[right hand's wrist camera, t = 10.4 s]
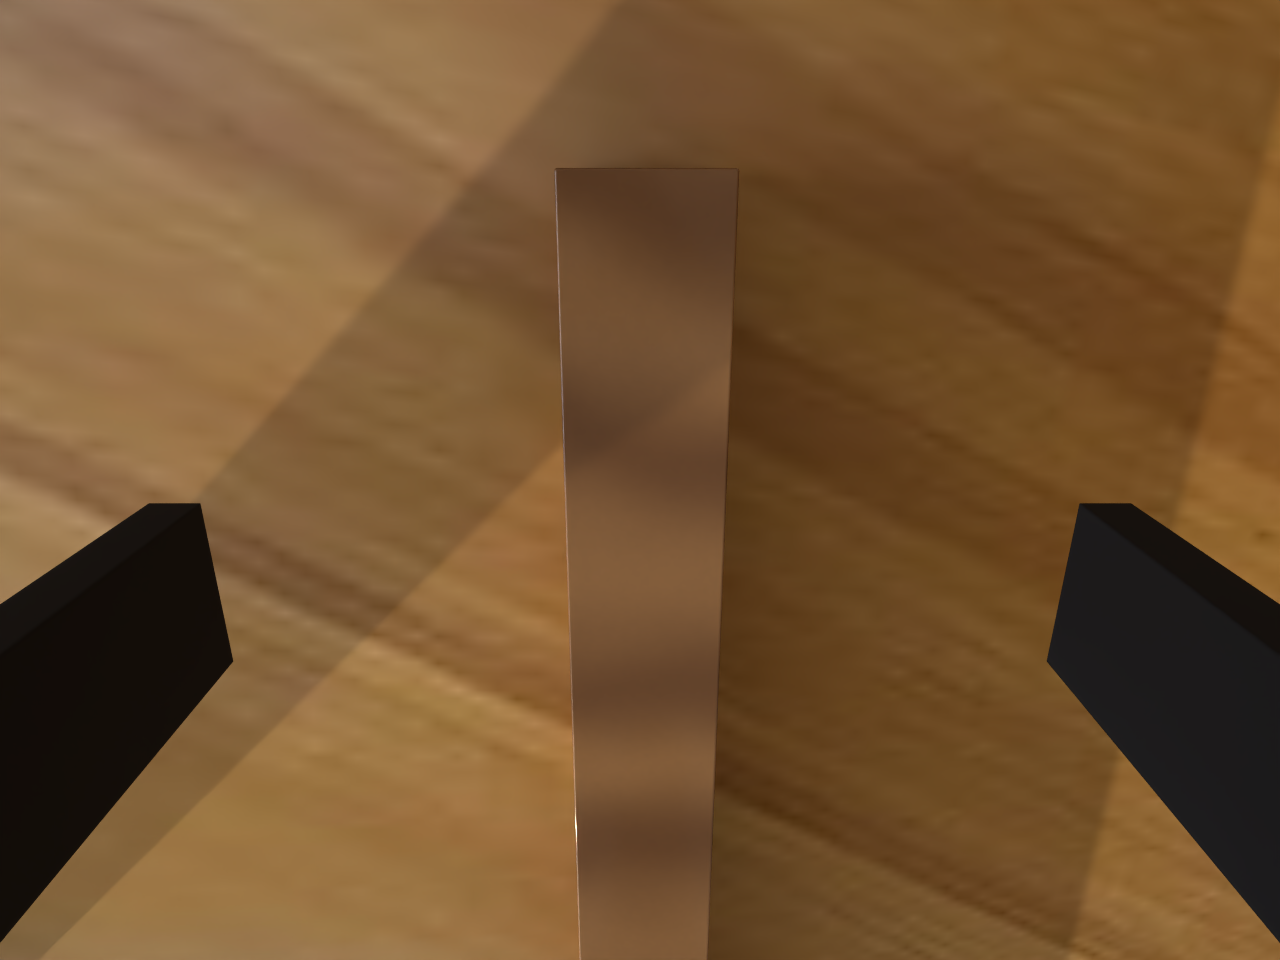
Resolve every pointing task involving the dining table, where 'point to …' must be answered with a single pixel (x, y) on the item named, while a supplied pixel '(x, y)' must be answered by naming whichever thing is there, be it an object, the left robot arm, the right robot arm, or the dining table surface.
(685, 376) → the bar
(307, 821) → the dining table surface
